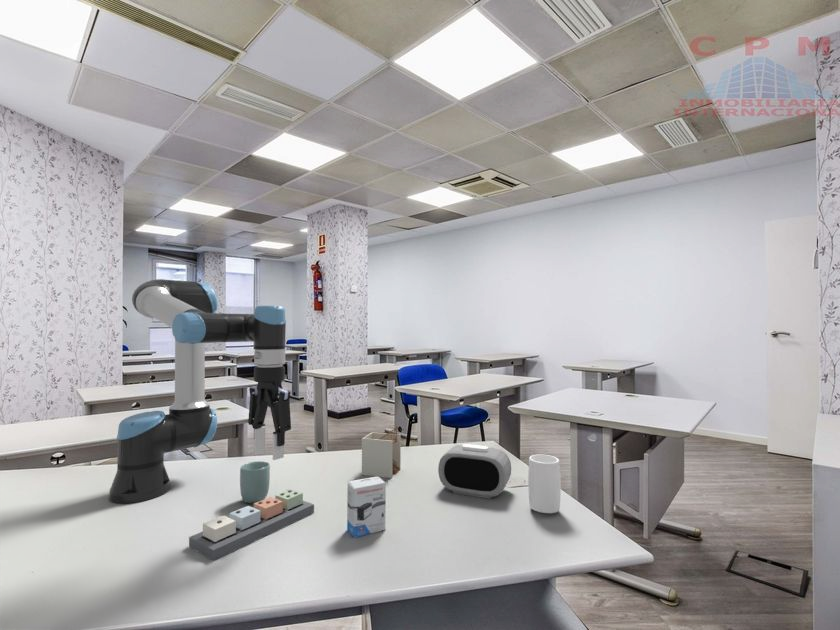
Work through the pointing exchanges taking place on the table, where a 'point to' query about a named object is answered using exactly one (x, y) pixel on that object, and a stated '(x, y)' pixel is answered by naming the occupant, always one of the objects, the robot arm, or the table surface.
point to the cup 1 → (254, 481)
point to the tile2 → (246, 517)
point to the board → (248, 533)
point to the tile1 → (219, 528)
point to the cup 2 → (544, 483)
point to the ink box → (366, 506)
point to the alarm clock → (475, 470)
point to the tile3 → (269, 507)
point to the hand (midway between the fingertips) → (268, 455)
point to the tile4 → (290, 498)
